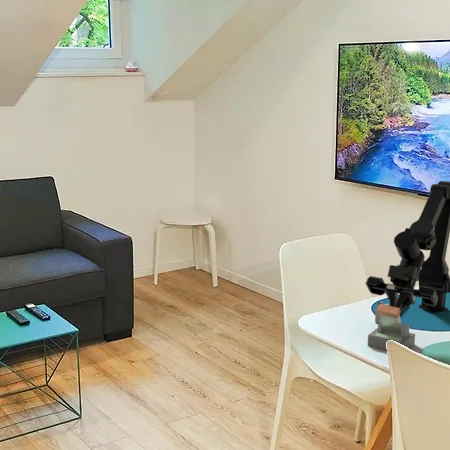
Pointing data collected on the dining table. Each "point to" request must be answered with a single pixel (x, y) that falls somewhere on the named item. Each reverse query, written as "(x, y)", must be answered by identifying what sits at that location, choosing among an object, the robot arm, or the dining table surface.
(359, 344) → the dining table surface
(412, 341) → the breaker housing
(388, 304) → the caliper
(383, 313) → the toggle lever
